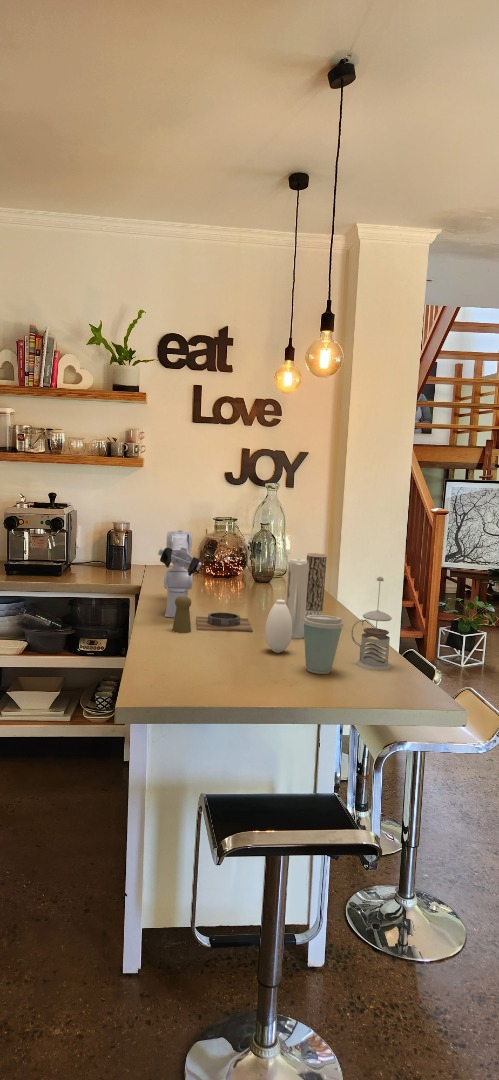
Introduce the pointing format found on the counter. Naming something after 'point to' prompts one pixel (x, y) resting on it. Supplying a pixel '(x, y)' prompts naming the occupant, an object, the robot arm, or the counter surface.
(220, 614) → the collar
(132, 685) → the counter surface
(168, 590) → the robot arm
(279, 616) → the white vase
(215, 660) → the counter surface
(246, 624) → the walnut mat
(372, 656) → the french press
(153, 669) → the counter surface
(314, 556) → the grey patterned cylinder
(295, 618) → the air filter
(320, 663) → the disposable coffee cup
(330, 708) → the counter surface
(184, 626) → the cork
